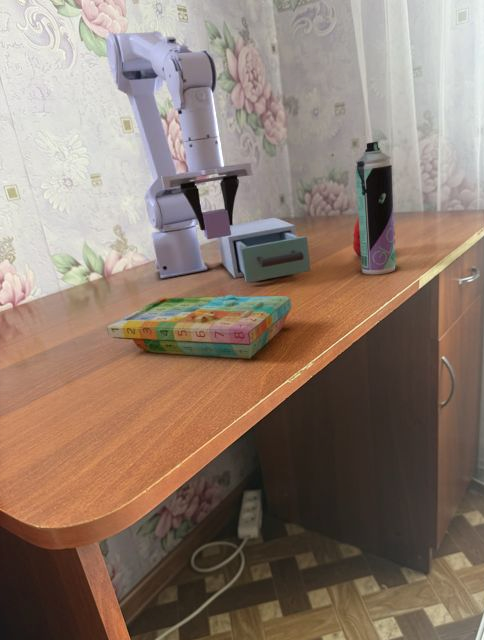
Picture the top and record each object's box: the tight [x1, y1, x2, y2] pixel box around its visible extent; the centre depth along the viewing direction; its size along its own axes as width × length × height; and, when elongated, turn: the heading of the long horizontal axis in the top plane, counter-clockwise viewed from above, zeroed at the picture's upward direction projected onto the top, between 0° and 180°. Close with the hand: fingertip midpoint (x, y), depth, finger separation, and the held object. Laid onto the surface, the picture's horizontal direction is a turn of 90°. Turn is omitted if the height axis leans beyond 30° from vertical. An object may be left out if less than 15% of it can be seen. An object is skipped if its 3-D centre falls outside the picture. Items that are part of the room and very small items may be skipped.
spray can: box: [355, 141, 396, 275], centre depth 80 cm, size 6×6×20 cm
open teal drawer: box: [233, 231, 311, 284], centre depth 88 cm, size 18×11×6 cm, turn 13°
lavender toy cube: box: [202, 208, 231, 240], centre depth 83 cm, size 4×4×4 cm
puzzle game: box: [106, 294, 293, 360], centre depth 63 cm, size 12×5×20 cm
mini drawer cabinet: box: [217, 217, 297, 279], centre depth 99 cm, size 15×13×8 cm
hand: (216, 227), depth 83 cm, fingers closed on lavender toy cube, 4 cm apart
